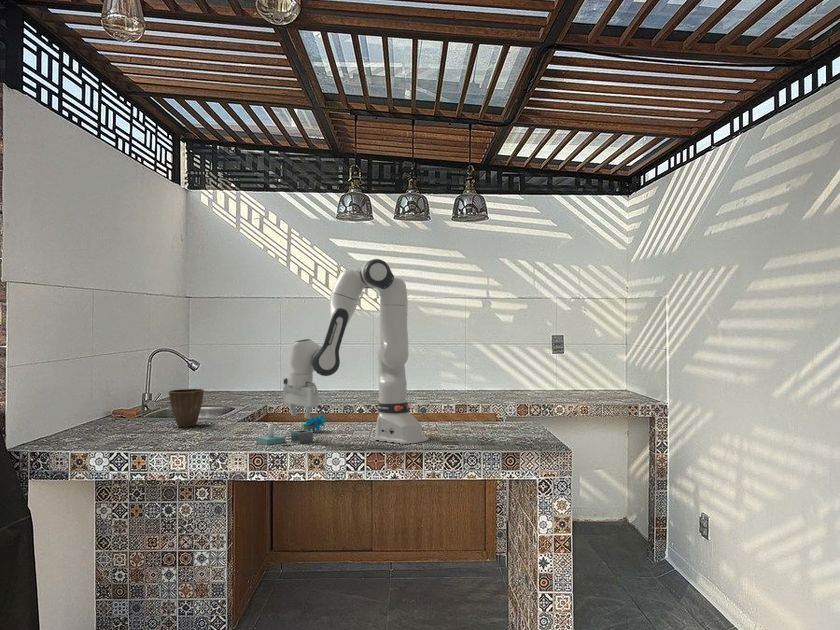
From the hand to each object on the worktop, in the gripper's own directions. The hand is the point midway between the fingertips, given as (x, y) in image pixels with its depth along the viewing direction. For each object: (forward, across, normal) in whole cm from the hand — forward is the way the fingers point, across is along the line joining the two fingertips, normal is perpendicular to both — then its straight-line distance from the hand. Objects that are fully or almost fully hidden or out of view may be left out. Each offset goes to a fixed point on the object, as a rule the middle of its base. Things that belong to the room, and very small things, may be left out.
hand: (300, 416), depth 252 cm
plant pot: (+11, +70, +15) cm, 72 cm away
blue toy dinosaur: (+10, +15, -17) cm, 25 cm away
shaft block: (+10, +8, +8) cm, 15 cm away
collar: (+10, 0, -1) cm, 10 cm away
